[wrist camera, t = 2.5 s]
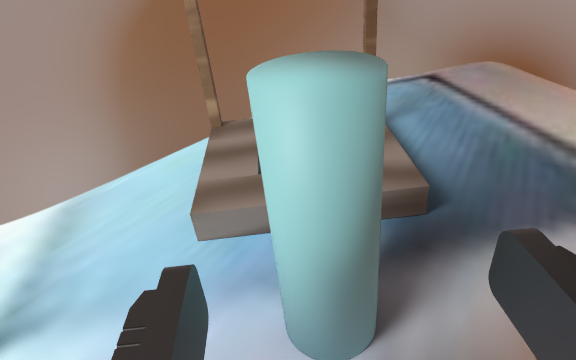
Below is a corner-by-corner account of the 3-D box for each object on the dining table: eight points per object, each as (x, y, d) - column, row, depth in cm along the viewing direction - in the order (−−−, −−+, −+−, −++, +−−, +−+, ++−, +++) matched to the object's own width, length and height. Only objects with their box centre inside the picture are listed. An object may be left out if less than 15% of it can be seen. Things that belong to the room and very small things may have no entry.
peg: (391, 307, 21) (409, 55, 14) (348, 380, 18) (343, 102, 10) (316, 273, 24) (298, 47, 16) (267, 332, 21) (217, 83, 13)
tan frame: (426, 213, 28) (501, -369, 14) (197, 241, 28) (32, -320, 13) (370, 125, 41) (378, -211, 27) (217, 143, 41) (146, -186, 27)
